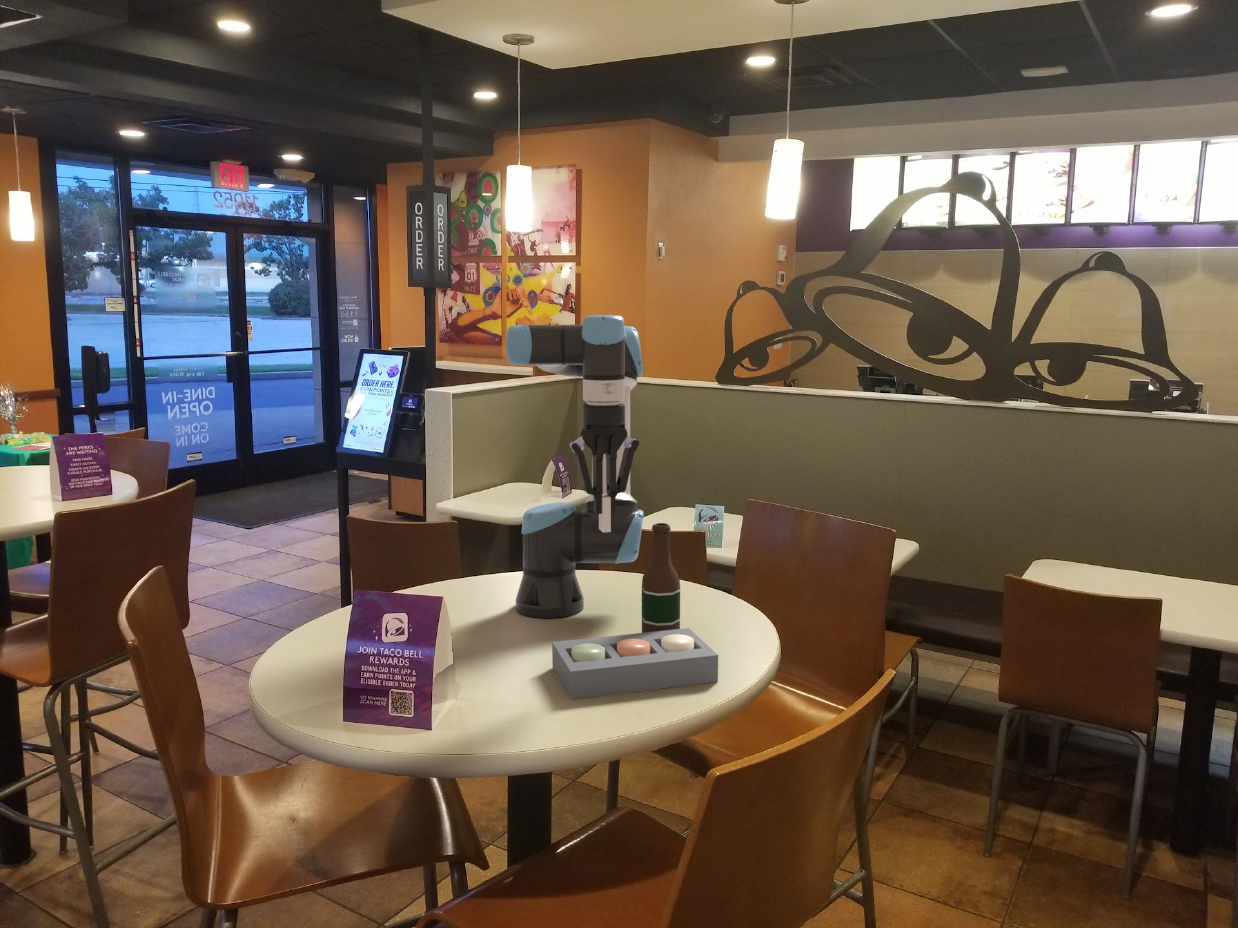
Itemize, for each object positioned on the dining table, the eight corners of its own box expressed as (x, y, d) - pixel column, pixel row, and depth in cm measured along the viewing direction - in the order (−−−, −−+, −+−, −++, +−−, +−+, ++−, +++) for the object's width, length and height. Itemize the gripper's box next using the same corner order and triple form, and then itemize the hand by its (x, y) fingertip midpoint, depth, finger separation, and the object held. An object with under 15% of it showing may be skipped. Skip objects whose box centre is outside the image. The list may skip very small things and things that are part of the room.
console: (552, 667, 176) (552, 642, 175) (688, 652, 183) (688, 627, 182) (571, 699, 162) (570, 671, 161) (717, 681, 169) (718, 654, 168)
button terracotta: (613, 663, 174) (613, 640, 173) (644, 659, 176) (644, 637, 175) (622, 675, 168) (622, 651, 168) (654, 671, 170) (654, 648, 169)
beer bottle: (677, 648, 185) (678, 529, 182) (638, 645, 187) (638, 527, 183) (682, 635, 193) (683, 520, 189) (645, 632, 194) (645, 519, 191)
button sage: (568, 668, 172) (568, 645, 171) (600, 664, 173) (600, 641, 173) (576, 680, 166) (576, 656, 165) (609, 676, 168) (608, 653, 167)
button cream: (656, 658, 176) (656, 636, 176) (687, 655, 178) (687, 632, 177) (667, 670, 171) (667, 646, 170) (698, 666, 172) (698, 643, 172)
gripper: (573, 406, 163) (575, 538, 168) (645, 403, 167) (645, 532, 171) (563, 401, 170) (565, 528, 175) (632, 398, 174) (632, 522, 178)
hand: (604, 530), depth 173 cm, fingers closed
